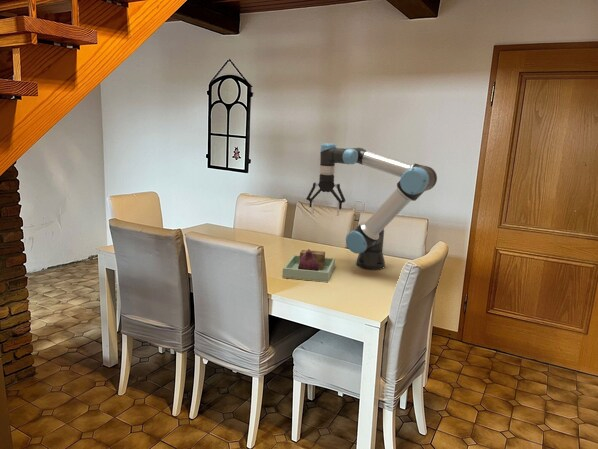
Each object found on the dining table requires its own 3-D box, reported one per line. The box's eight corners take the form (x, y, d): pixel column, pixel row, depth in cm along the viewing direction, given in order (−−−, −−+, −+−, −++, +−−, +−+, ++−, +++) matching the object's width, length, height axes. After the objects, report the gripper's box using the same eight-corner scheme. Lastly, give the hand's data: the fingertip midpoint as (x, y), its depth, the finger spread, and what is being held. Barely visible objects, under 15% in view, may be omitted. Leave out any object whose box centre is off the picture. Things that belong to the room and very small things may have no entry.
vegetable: (315, 284, 222) (319, 257, 215) (294, 279, 223) (298, 253, 216) (319, 272, 231) (323, 247, 224) (299, 268, 232) (303, 242, 225)
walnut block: (324, 266, 239) (325, 251, 237) (322, 270, 233) (323, 254, 232) (301, 264, 241) (302, 249, 240) (299, 267, 236) (300, 252, 234)
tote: (334, 267, 240) (335, 258, 239) (327, 282, 217) (328, 272, 216) (293, 264, 244) (293, 254, 243) (282, 278, 221) (282, 268, 220)
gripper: (351, 174, 238) (349, 214, 243) (304, 172, 243) (303, 211, 247) (350, 175, 231) (348, 217, 235) (301, 173, 236) (300, 214, 240)
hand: (325, 214), depth 241 cm, fingers open, 13 cm apart
